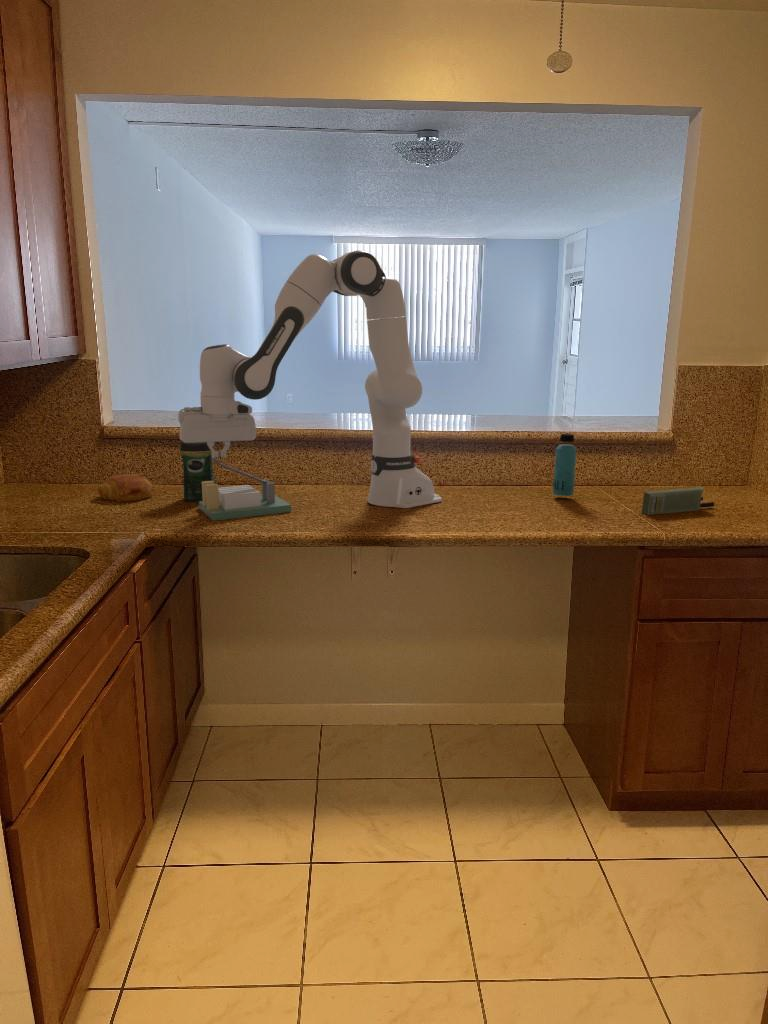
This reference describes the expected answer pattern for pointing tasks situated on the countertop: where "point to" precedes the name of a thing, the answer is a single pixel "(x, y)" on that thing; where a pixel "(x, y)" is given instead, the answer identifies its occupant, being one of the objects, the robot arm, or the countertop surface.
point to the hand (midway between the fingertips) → (219, 457)
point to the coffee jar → (195, 469)
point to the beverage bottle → (564, 467)
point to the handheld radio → (673, 501)
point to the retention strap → (240, 471)
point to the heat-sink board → (240, 501)
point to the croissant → (125, 488)
